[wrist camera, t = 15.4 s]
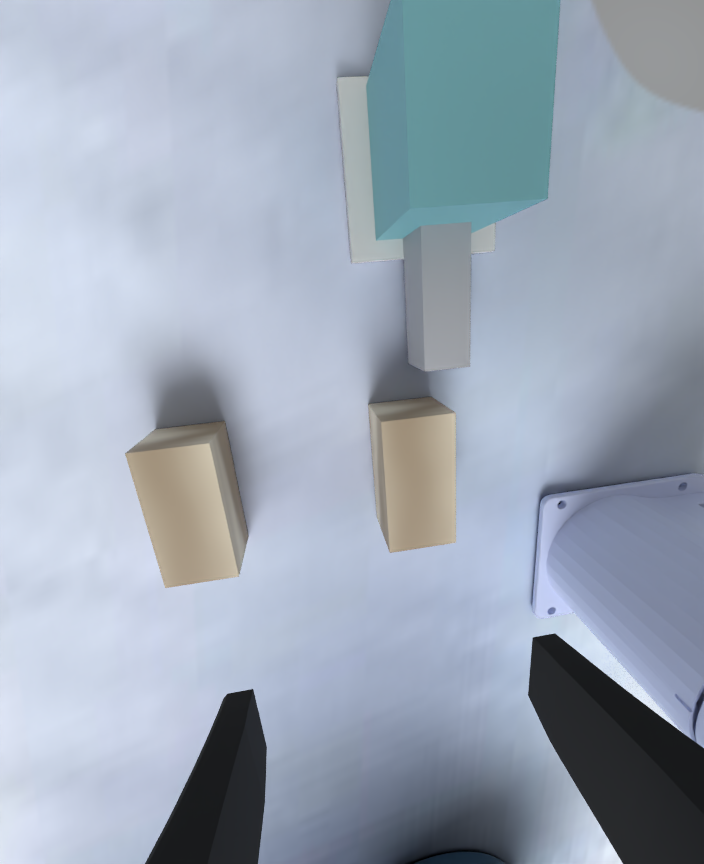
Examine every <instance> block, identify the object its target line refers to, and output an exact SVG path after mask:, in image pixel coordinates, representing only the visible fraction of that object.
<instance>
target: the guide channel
mask: <svg viewBox="0 0 704 864" xmlns="http://www.w3.org/2000/svg"><path fill="white" fill-rule="evenodd" d="M368 408H369V421H370V434H371V447H372V460H373V473H374V486H375V499H376V511H377V519H378V522H379V524H380V527H381V530H382V533H383V535H384V538H385V541H386V544H387V546H388V549H389V552H390V553H392V552H399V551H405V550H412V549H418V548H424V547H431V546H437V545H444V544H450V543H456V413H455V412H454V411H452V410H450V409H449V408H447V407H446V406H444V405H443V404H441V403H440V402H438V401H437V400H435V399H434V398H432V397H424V398H415V399H407V400H398V401H390V402H381V403H373V404H368ZM125 455H126V458H127V461H128V465H129V468H130V471H131V475H132V478H133V481H134V485H135V488H136V491H137V495H138V498H139V502H140V505H141V508H142V512H143V515H144V518H145V522H146V525H147V528H148V532H149V535H150V538H151V542H152V545H153V548H154V552H155V555H156V558H157V562H158V565H159V568H160V572H161V575H162V578H163V582H164V585H165V588H168V587H175V586H181V585H188V584H194V583H200V582H207V581H213V580H220V579H226V578H232V577H239V574H240V570H241V566H242V561H243V557H244V553H245V549H246V544H247V540H248V532H247V527H246V522H245V517H244V512H243V507H242V503H241V498H240V493H239V488H238V483H237V478H236V473H235V468H234V463H233V458H232V453H231V449H230V444H229V439H228V434H227V429H226V424H225V421H221V422H212V423H204V424H196V425H187V426H179V427H170V428H162V429H155V430H154V431H153V432H151V433H150V434H149V435H148V436H146V437H145V438H144V439H143V440H141V441H140V442H139V443H138V444H136V445H135V446H134V447H133V448H132V449H130V450H129V451H128V452H127V453H125Z"/></svg>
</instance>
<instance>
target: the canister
mask: <svg viewBox="0 0 704 864" xmlns="http://www.w3.org/2000/svg"><path fill="white" fill-rule="evenodd" d="M414 864H505V863H504V862H503V861H501V860H500V859H498V858H496V857H494V856H491V855H488V854H485V853H479V852H452V853H446V854H441V855H437V856H433V857H430V858H426V859H424V860H421V861H418V862H416V863H414Z"/></svg>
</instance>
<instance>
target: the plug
mask: <svg viewBox="0 0 704 864" xmlns="http://www.w3.org/2000/svg"><path fill="white" fill-rule="evenodd" d="M559 12H560V0H391V1H390V4H389V8H388V11H387V15H386V18H385V22H384V25H383V29H382V32H381V36H380V39H379V43H378V46H377V50H376V53H375V57H374V60H373V64H372V67H371V71H370V74H369V78H368V81H367V84H366V92H367V108H368V124H369V139H370V155H371V171H372V187H373V203H374V219H375V234H376V241H378V240H390V239H403V254H404V277H405V301H406V324H407V347H408V364H410V365H412V366H414V367H416V368H418V369H420V370H422V371H424V372H427V371H436V370H445V369H453V368H462V367H470V314H471V233H473V232H476V231H478V230H480V229H482V228H484V227H486V226H489V225H491V224H493V223H495V222H497V221H500V220H502V219H504V218H506V217H508V216H511V215H513V214H515V213H517V212H519V211H522V210H524V209H526V208H528V207H530V206H533V205H535V204H537V203H539V202H541V201H544V200H546V199H548V184H549V168H550V153H551V137H552V121H553V106H554V90H555V75H556V59H557V44H558V28H559Z"/></svg>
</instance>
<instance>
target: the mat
mask: <svg viewBox="0 0 704 864" xmlns="http://www.w3.org/2000/svg"><path fill="white" fill-rule="evenodd" d="M368 78H369V76H360V77H337V96H338V108H339V120H340V132H341V145H342V157H343V169H344V181H345V193H346V205H347V218H348V230H349V242H350V254H351V264H354V263H366V262H378V261H390V260H402V259H404V254H403V239H390V240H378V241H376V234H375V219H374V203H373V187H372V171H371V155H370V139H369V124H368V108H367V92H366V84H367V81H368ZM495 227H496V222H495V223H493V224H491V225H489V226H486V227H484V228H482V229H480V230H478V231H476V232H473V233H471V254H474V253H486V252H492V251H495Z"/></svg>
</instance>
